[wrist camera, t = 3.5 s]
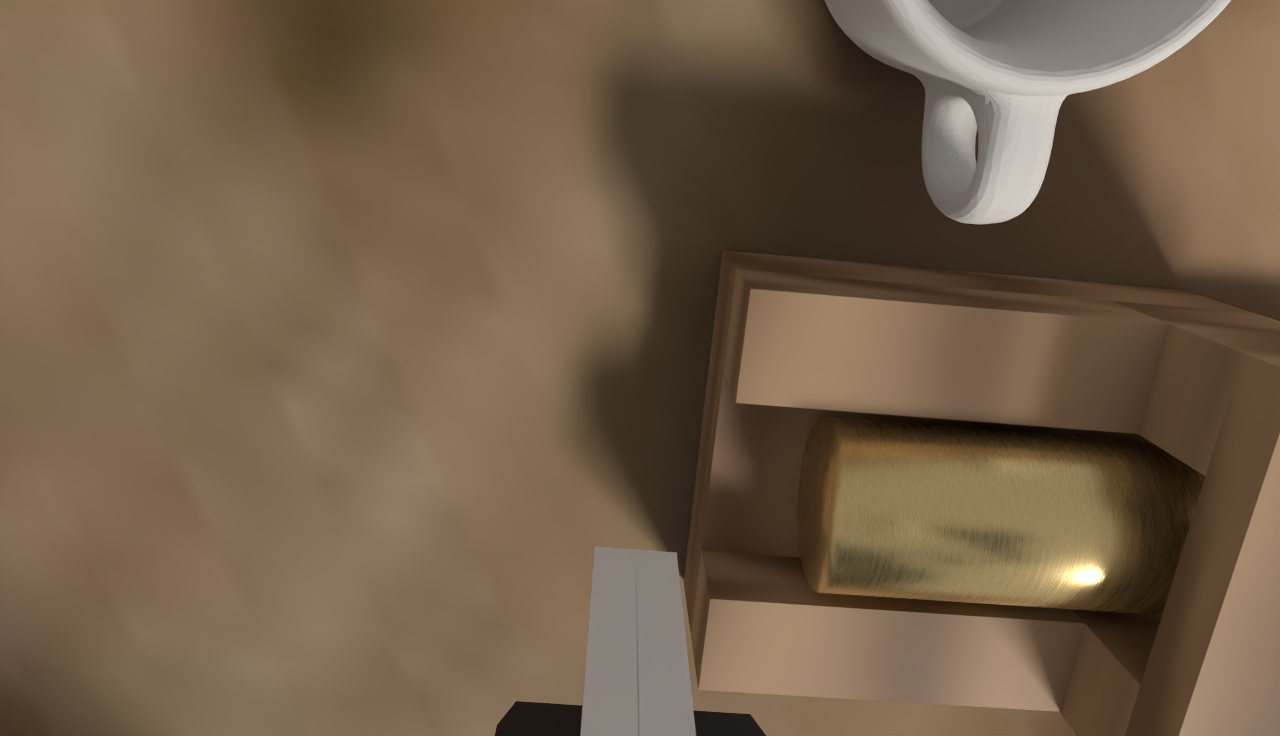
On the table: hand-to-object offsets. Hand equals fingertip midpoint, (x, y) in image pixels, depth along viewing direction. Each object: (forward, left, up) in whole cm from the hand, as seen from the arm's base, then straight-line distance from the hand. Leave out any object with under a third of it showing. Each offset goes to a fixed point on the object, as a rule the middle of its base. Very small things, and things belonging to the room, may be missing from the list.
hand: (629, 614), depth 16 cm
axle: (+12, 0, -8) cm, 14 cm away
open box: (+9, 0, -11) cm, 14 cm away
